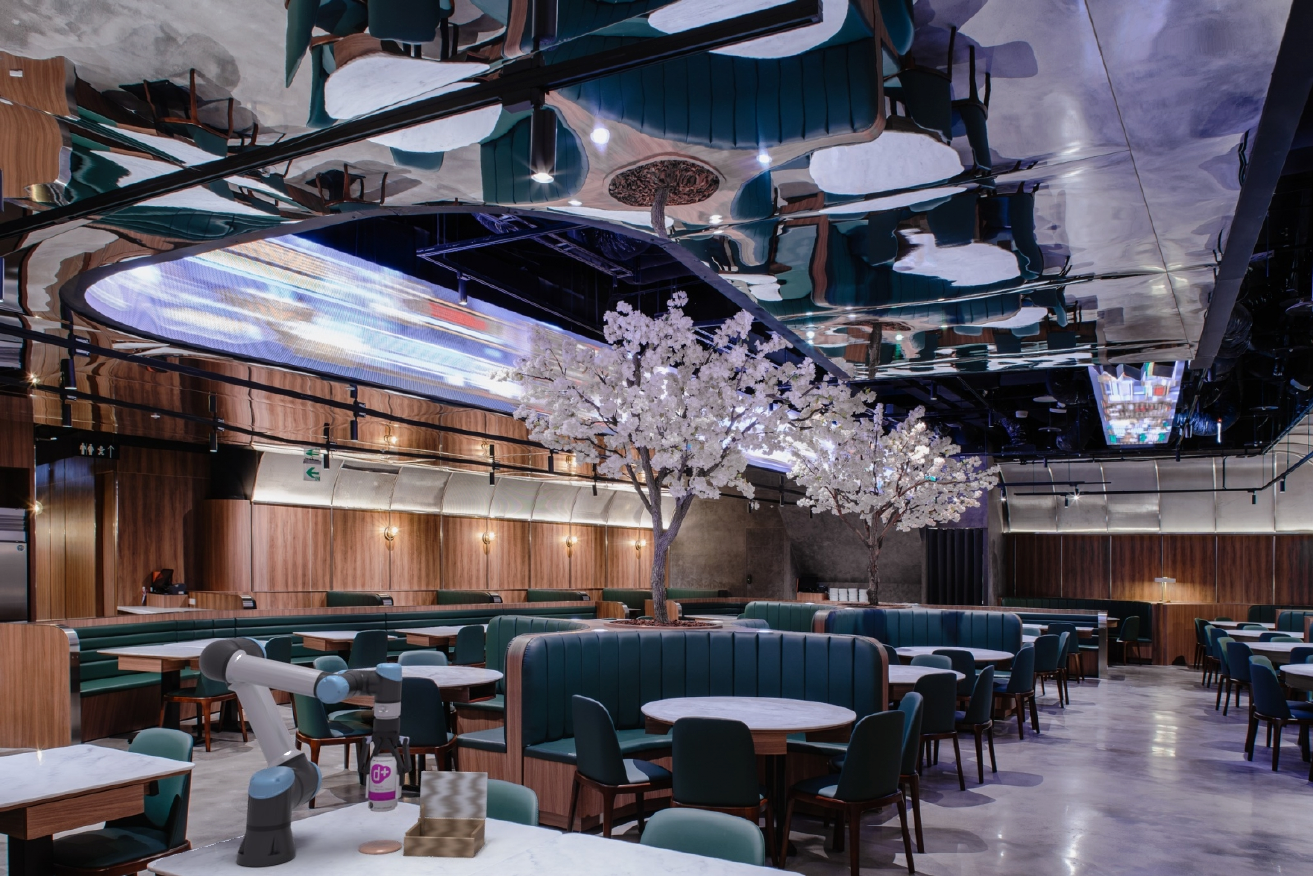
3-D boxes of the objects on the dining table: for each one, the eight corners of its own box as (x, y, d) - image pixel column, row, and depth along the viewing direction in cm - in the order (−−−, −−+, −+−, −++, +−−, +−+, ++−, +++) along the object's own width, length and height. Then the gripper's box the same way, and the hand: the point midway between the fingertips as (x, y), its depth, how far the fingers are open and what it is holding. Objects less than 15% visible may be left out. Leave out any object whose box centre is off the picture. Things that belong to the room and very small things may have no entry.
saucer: (352, 854, 253) (352, 851, 254) (367, 841, 265) (368, 839, 265) (393, 855, 253) (393, 853, 253) (407, 842, 265) (407, 840, 265)
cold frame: (403, 856, 252) (406, 782, 255) (419, 841, 266) (422, 771, 269) (472, 857, 251) (475, 783, 254) (485, 843, 265) (487, 772, 268)
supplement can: (388, 813, 256) (391, 758, 258) (362, 811, 258) (365, 757, 260) (402, 806, 264) (404, 753, 266) (376, 804, 265) (379, 752, 268)
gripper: (347, 718, 261) (343, 799, 258) (417, 719, 260) (414, 801, 257) (357, 714, 269) (353, 793, 265) (425, 715, 268) (422, 794, 264)
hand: (383, 797), depth 261 cm, fingers closed on supplement can, 8 cm apart
